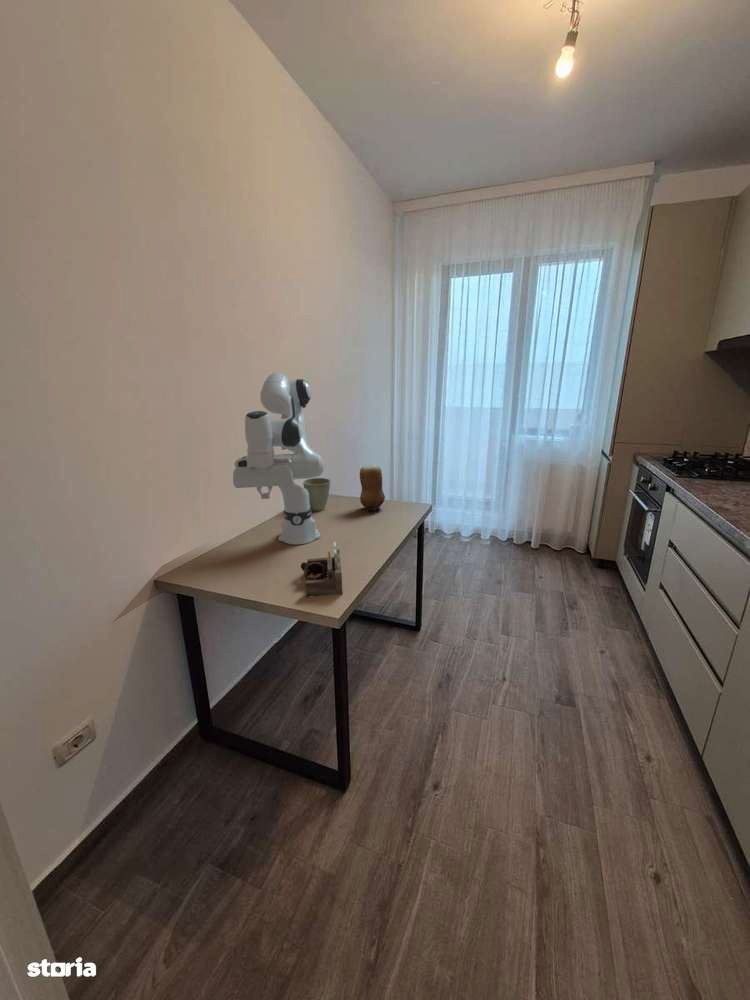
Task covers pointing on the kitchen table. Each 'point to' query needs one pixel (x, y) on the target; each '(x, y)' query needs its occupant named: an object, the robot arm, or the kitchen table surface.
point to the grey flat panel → (329, 566)
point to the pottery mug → (314, 570)
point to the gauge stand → (326, 585)
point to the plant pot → (317, 492)
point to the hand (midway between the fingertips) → (265, 498)
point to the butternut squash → (371, 487)
